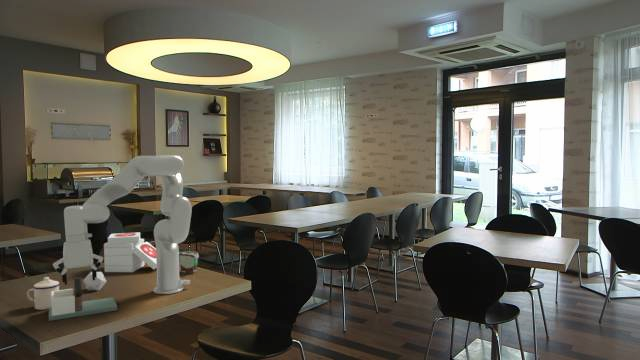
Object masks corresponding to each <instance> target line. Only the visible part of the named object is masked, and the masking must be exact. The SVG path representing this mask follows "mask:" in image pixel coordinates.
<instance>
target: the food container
mask: <svg viewBox="0 0 640 360" xmlns="http://www.w3.org/2000/svg"><path fill="white" fill-rule="evenodd" d="M199 258H200V256H199V253H198V251H193V250H188V251H186V250H185V251H179V271H180V272H181V271H185V272H184V273H186V272H190V273H189V274H191V273H195V272H196V273H197V272H198V259H199ZM196 273H195V274H196Z"/></svg>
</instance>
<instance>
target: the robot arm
mask: <svg viewBox="0 0 640 360" xmlns="http://www.w3.org/2000/svg"><path fill="white" fill-rule="evenodd" d="M184 168H185V162H184V159H183V158H182V157H180V156H179V155H177V154H162V155H137V156H135V157H133V158H131V160H130V161H129V162H128V163H126V165H125V166H124V167H123V168H122V169H121V170H120V171H119V172H118V174H116V175H115V176H114V177H113V178H112V179H111V180H110V181H108V182H107V183H106V184H104V185H103V186H102V187H100V188H98V189H97V190H96V191H95V192H94V193H93V194H92V195H91V196H90V197H89V198H88V199H87V200H86V201H84V203H83V204H82V205H71V206H67V207H65V208H64V210H63V217H64V218H63V219H64V230H65V231H64V232H65V233H64V234H65V241H64V242H63V249H62V250H63V251H62V258H59V259H58V260H57V261H55V262H53V263H52V266H53V268H54V269H55V271H56V272H57V273H59V274H61V276H62V283H64V286H66V285H68V281H67V280H68V279H67V272H68V270H73V269H78V268H86V267H90V268H91V272H92V279H93V280H95V278H96V277H97V274H96V272H97V270H98V268H100V266H101V265H102V262H104V261H103V260H104V256H100V255H97V254H95V253H93V247H92V242H91V239H89V238H92V237H93V233H89V232H88V224H100V223H101V224H102V223H104V222H106V221H107V220H108V219H109V217H110V214H111V211H110V209H109V207H108V205H110V204H111V203H113V202H114V201H115V200H117V199H120V198H123V197H125V196H127V195H129V194H131V192H132V191H133V190H134V189H135V187H137V186H138V185H139V183H140V182H141V181H142V180H143V179H144V178H145V177H161V180H162V184H163V185H162V187H163V188H162V193H161V200H160V212H161V214H162V215H164V216H166V217H169V219H167V218H166V219H164V218H163V219H161V220H159V221H158V222H157V223H155V225H154V227H153V228H154V229H153V237H154V241H155V248H156V263H157V268H156V287H154V288H153V289H152V290H153V293H154V294H158V295H171V294H175V293H180V292H181V291H183V290H184V286H185V285H190V284H191V279H186V278H185V279H181V278H180V259H179V252H180V249H179V248H180V247H179V244H182V243H183V242H185V241H186V240H187V238H188V236H189V231H190V227H191V226H190V225H191V218H192V212H193V211H192V209H193V207H192V206H193V205H192V203H191V201H190V199H189V198H187V197H186V196H183V193H184V179H183V176H182V174H181V173H182V172H183V170H184ZM94 259H96V260H98V261H97V262H96V263H95V264H94ZM62 263H63V268H61V267H60V266H59V265H60V264H62Z"/></svg>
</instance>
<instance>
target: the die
mask: <svg viewBox="0 0 640 360" xmlns="http://www.w3.org/2000/svg"><path fill="white" fill-rule="evenodd" d="M96 274H97V277H96V278H95V280H93V279H92V271H90V272H89V273H88V274H87V276H85V278H84V279H83V280H82V281H83V284H84V286H85V287H86V290H87V291H100V290H101V289H102V288H103V286H105V284H106V283H107V279H106V278H105V276H104V274H103V272H102V271H96Z"/></svg>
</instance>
